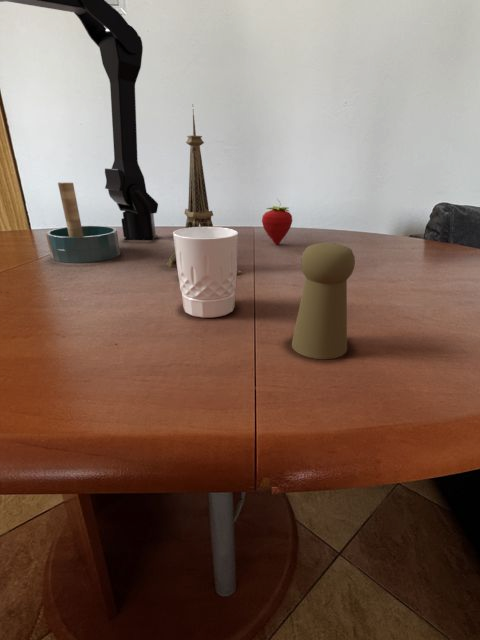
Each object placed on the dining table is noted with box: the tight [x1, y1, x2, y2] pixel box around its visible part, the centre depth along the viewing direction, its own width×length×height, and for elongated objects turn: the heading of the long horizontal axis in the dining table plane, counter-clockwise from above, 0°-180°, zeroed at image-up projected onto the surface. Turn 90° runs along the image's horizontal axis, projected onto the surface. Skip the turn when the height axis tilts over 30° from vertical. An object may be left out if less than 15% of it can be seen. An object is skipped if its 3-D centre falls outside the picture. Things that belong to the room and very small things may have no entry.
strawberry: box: [261, 199, 293, 245], centre depth 86 cm, size 6×8×10 cm
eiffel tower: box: [165, 103, 243, 279], centre depth 62 cm, size 11×11×25 cm
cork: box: [291, 242, 356, 360], centre depth 39 cm, size 6×6×11 cm
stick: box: [57, 181, 83, 237], centre depth 68 cm, size 4×4×13 cm
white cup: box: [172, 226, 239, 319], centre depth 48 cm, size 8×8×10 cm
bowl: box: [45, 225, 121, 264], centre depth 72 cm, size 12×12×5 cm
